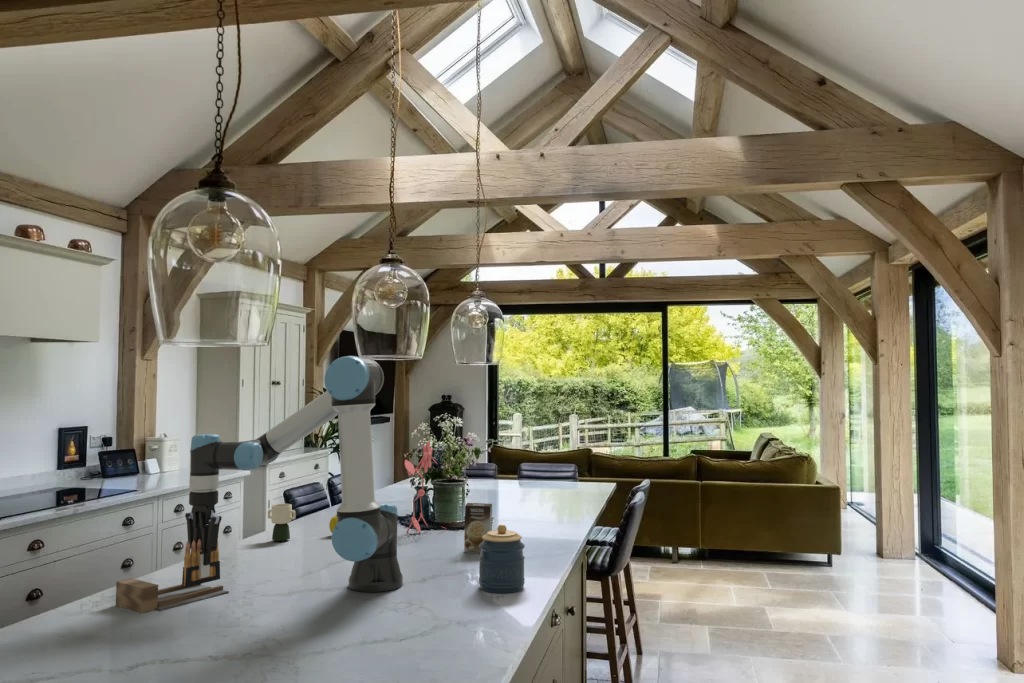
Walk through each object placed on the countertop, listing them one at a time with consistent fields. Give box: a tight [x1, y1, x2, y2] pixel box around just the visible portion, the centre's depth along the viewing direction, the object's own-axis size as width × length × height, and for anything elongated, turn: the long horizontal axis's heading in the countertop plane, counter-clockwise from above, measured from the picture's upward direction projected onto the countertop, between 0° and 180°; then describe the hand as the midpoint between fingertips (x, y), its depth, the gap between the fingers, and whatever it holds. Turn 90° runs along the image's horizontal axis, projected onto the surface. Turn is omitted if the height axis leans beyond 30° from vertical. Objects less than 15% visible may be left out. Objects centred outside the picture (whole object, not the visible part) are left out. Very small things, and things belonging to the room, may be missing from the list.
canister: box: [478, 523, 526, 594], centre depth 212 cm, size 13×13×18 cm
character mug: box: [267, 503, 297, 542], centre depth 275 cm, size 11×7×13 cm, turn 80°
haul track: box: [115, 577, 229, 614], centre depth 200 cm, size 16×24×6 cm
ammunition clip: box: [181, 539, 221, 587], centre depth 207 cm, size 11×2×12 cm, turn 147°
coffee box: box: [463, 502, 493, 554], centre depth 259 cm, size 9×6×16 cm
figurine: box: [404, 441, 447, 535], centre depth 296 cm, size 15×26×35 cm, turn 168°
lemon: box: [328, 514, 337, 533], centre depth 285 cm, size 6×6×8 cm
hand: (201, 576), depth 207 cm, fingers closed on ammunition clip, 2 cm apart
